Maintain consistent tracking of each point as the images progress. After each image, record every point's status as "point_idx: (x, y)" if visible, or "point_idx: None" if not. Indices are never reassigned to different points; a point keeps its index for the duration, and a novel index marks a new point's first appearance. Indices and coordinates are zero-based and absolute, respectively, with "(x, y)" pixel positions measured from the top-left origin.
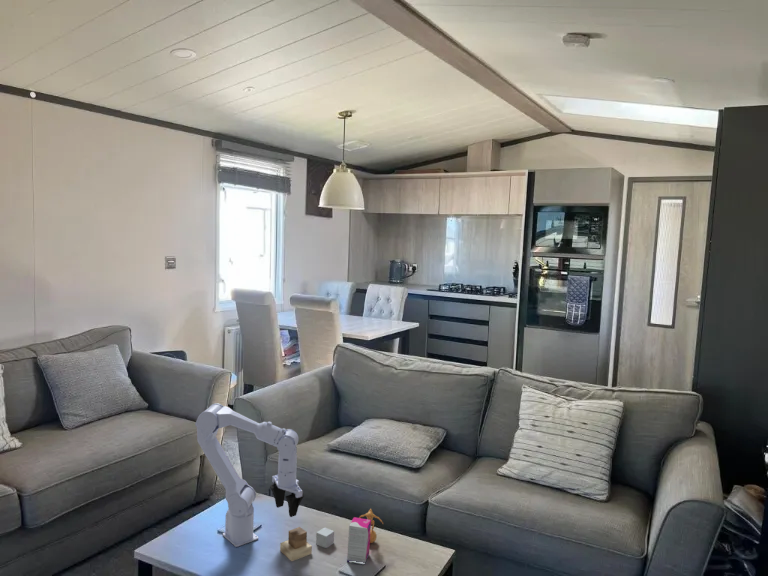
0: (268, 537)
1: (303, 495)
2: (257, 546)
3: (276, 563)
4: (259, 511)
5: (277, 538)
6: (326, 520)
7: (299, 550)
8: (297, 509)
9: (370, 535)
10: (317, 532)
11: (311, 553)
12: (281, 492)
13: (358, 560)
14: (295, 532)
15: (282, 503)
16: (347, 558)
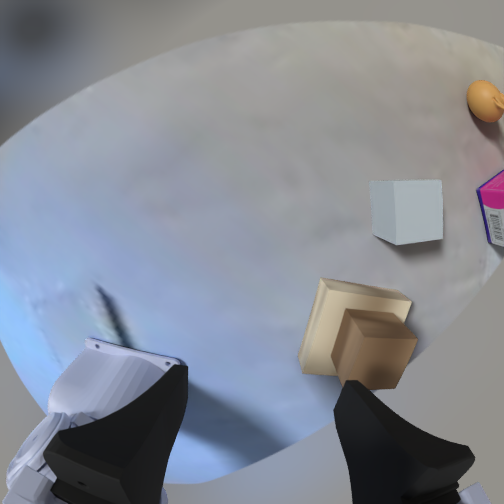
0: (191, 330)
1: (473, 460)
2: (216, 384)
3: (339, 394)
4: (30, 230)
5: (221, 313)
6: (260, 62)
7: None
8: (379, 402)
9: (501, 114)
10: (399, 241)
11: (397, 291)
12: (157, 456)
13: None
14: (378, 376)
15: (184, 383)
16: (496, 244)
